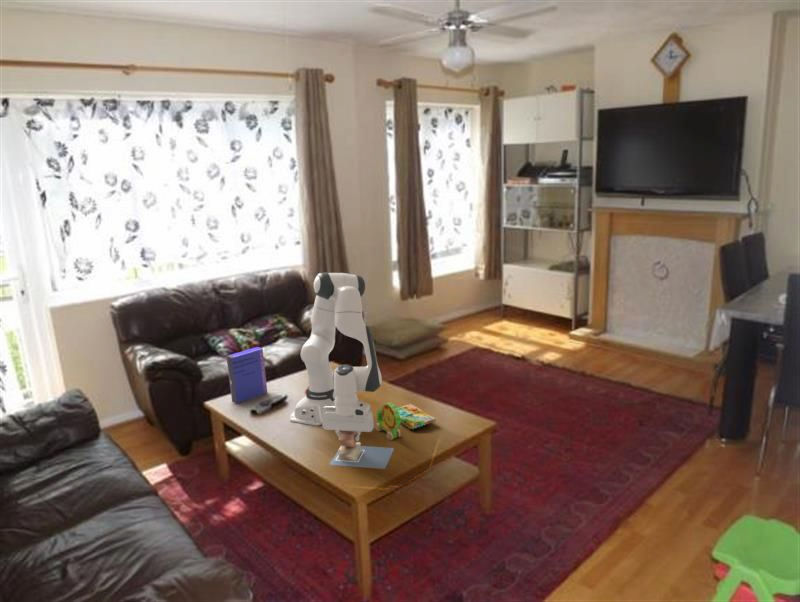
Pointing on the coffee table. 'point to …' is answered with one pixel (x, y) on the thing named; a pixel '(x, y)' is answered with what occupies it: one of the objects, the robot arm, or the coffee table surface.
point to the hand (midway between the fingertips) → (349, 439)
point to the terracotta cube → (348, 438)
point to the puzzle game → (414, 416)
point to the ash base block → (350, 452)
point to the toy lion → (388, 420)
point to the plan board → (367, 458)
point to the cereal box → (247, 374)
